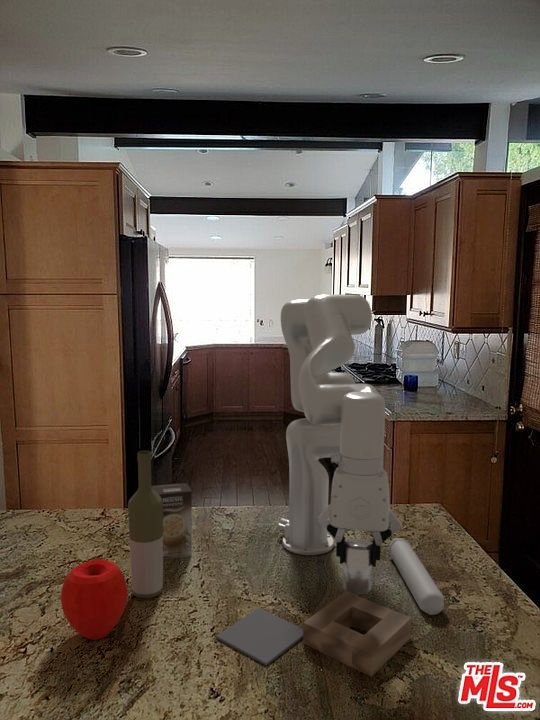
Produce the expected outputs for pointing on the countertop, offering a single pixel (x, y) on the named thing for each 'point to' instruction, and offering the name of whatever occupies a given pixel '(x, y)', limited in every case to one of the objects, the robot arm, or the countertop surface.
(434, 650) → the countertop surface
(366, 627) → the bore block
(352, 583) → the round peg
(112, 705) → the countertop surface
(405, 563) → the tube
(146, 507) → the bottle
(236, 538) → the countertop surface
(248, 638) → the mat
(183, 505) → the coffee box
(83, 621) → the apple
